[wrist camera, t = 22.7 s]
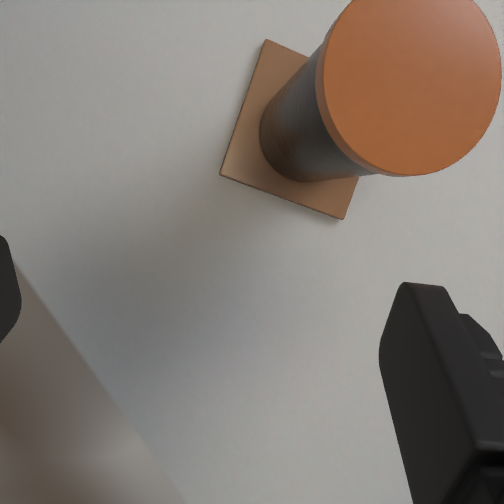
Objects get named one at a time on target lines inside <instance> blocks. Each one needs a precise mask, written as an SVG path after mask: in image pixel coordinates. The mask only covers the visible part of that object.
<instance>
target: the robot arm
mask: <svg viewBox="0 0 504 504" xmlns="http://www.w3.org/2000/svg"><path fill="white" fill-rule="evenodd" d="M20 310H21V294H20V289H19V285H18V282H17V277H16V273H15V269H14V265H13V261H12V257H11V253H10V249H9V245H8V243H7V241H6V240H5V238H4V237H2V236H0V343H1V342H2V340H3V339H4V338H5V336H6V335H7V334H8V333H9V332H10V330H11V329H12V328H13V326H14V325H15V323H16V322H17V319H18V317H19V314H20ZM502 357H503V356H502V354H501V352H500V351H499V349H498V347H497V346H496V344H495V342H494V341H493V339H492V337H491V335H490V334H489V333H488V332H487V331H486V330H485V329H484V328H482V327H481V326H480V325H479V324H478V323H477V322H476V321H475V320H474V319H473V318H472V317H470V316H469V315H468V314H459V313H458V311H457V309H456V307H455V305H454V303H453V302H452V300H451V298H450V296H449V294H448V292H447V290H446V289H445V288H444V287H443V286H436V285H428V284H419V283H410V282H403V283H402V284H401V285H400V286H399V288H398V290H397V293H396V296H395V299H394V302H393V305H392V308H391V310H390V313H389V316H388V319H387V322H386V325H385V328H384V331H383V334H382V337H381V340H380V346H379V367H380V371H381V375H382V379H383V384H384V388H385V392H386V396H387V400H388V404H389V408H390V412H391V416H392V420H393V424H394V428H395V432H396V436H397V440H398V444H399V448H400V452H401V456H402V460H403V464H404V468H405V472H406V476H407V480H408V484H409V488H410V492H411V496H412V500H413V504H504V361H503V360H502Z"/></svg>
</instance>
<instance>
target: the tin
mask: <svg viewBox="0 0 504 504" xmlns="http://www.w3.org/2000/svg"><path fill="white" fill-rule="evenodd" d="M501 79H502V71H501V59H500V52H499V48H498V44H497V40H496V38H495V35H494V32H493V30H492V27H491V26H490V24H489V22H488V20H487V18H486V16H485V15H484V14H483V12H482V11H481V9H480V8H479V7H478V6H477V4H476V3H475V2H474V1H473V0H352V1H351V2H350V3H349V4H348V6H347V7H346V8H345V9H344V10H343V11H342V13H341V14H340V15H339V16H338V18H337V19H336V20H335V21H334V23H333V24H332V26H331V27H330V29H329V31H328V33H327V34H326V36H325V39H324V41H323V43H322V44H321V45H320V46H319V48H318V49H317V50H316V51H315V52H314V53H313V54H312V55H311V56H310V57H309V58H308V60H307V61H306V62H305V63H304V64H303V65H302V66H301V67H300V68H299V69H298V71H297V72H296V73H295V74H294V75H293V76H292V77H291V78H290V79H289V80H288V81H287V83H286V84H285V85H284V86H283V87H282V88H281V89H280V90H279V91H278V92H277V94H276V95H275V96H274V97H273V98H272V99H271V100H270V102H269V103H268V104H267V106H266V108H265V109H264V112H263V114H262V117H261V120H260V126H259V140H260V145H261V149H262V151H263V154H264V156H265V158H266V160H267V161H268V163H269V164H270V165H271V166H272V167H273V169H274V170H276V171H277V172H278V173H279V174H281V175H282V176H284V177H286V178H288V179H290V180H293V181H297V182H315V181H323V180H332V179H340V178H348V177H357V176H365V175H373V174H381V175H387V176H393V177H407V176H417V175H426V174H430V173H433V172H437V171H440V170H442V169H444V168H447V167H449V166H450V165H452V164H454V163H455V162H457V161H459V160H460V159H461V158H462V157H464V156H465V155H466V154H467V153H468V152H469V151H470V150H471V149H472V148H473V147H474V146H475V145H476V144H477V143H478V142H479V140H480V139H481V138H482V136H483V135H484V133H485V132H486V130H487V128H488V127H489V125H490V123H491V120H492V118H493V116H494V114H495V110H496V107H497V104H498V100H499V95H500V90H501Z"/></svg>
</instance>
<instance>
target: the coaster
mask: <svg viewBox="0 0 504 504" xmlns="http://www.w3.org/2000/svg"><path fill="white" fill-rule="evenodd" d="M308 58H309V57H306V56H304V55H302V54H300V53H297V52H295V51H293V50H291V49H288V48H286V47H284V46H282V45H279V44H277V43H275V42H273V41H270V40H268V39H265V41H264V44H263V47H262V50H261V53H260V56H259V58H258V61H257V64H256V67H255V70H254V73H253V76H252V79H251V82H250V85H249V88H248V91H247V94H246V96H245V99H244V102H243V105H242V108H241V111H240V114H239V117H238V120H237V123H236V126H235V129H234V131H233V134H232V137H231V140H230V143H229V146H228V149H227V152H226V155H225V158H224V161H223V164H222V167H221V169H220V172H219V175H221V176H224V177H227V178H229V179H232V180H235V181H237V182H240V183H243V184H245V185H248V186H251V187H254V188H256V189H259V190H262V191H264V192H267V193H270V194H273V195H275V196H278V197H281V198H283V199H286V200H289V201H292V202H294V203H297V204H300V205H302V206H305V207H308V208H311V209H313V210H316V211H319V212H321V213H324V214H327V215H329V216H332V217H335V218H338V219H341V220H343V219H344V217H345V214H346V211H347V208H348V206H349V203H350V200H351V197H352V195H353V192H354V189H355V186H356V184H357V181H358V178H359V176H357V177H348V178H340V179H332V180H323V181H315V182H297V181H293V180H290V179H288V178H286V177H284V176H282V175H281V174H279V173H278V172H277V171H276V170H274V169H273V167H272V166H271V165H270V164H269V163H268V161H267V160H266V158H265V156H264V154H263V151H262V149H261V145H260V140H259V126H260V120H261V117H262V114H263V112H264V109H265V108H266V106H267V104H268V103H269V102H270V100H271V99H272V98H273V97H274V96H275V95H276V94H277V92H278V91H279V90H280V89H281V88H282V87H283V86H284V85H285V84H286V83H287V81H288V80H289V79H290V78H291V77H292V76H293V75H294V74H295V73H296V72H297V71H298V69H299V68H300V67H301V66H302V65H303V64H304V63H305V62H306V61H307V60H308Z"/></svg>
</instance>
